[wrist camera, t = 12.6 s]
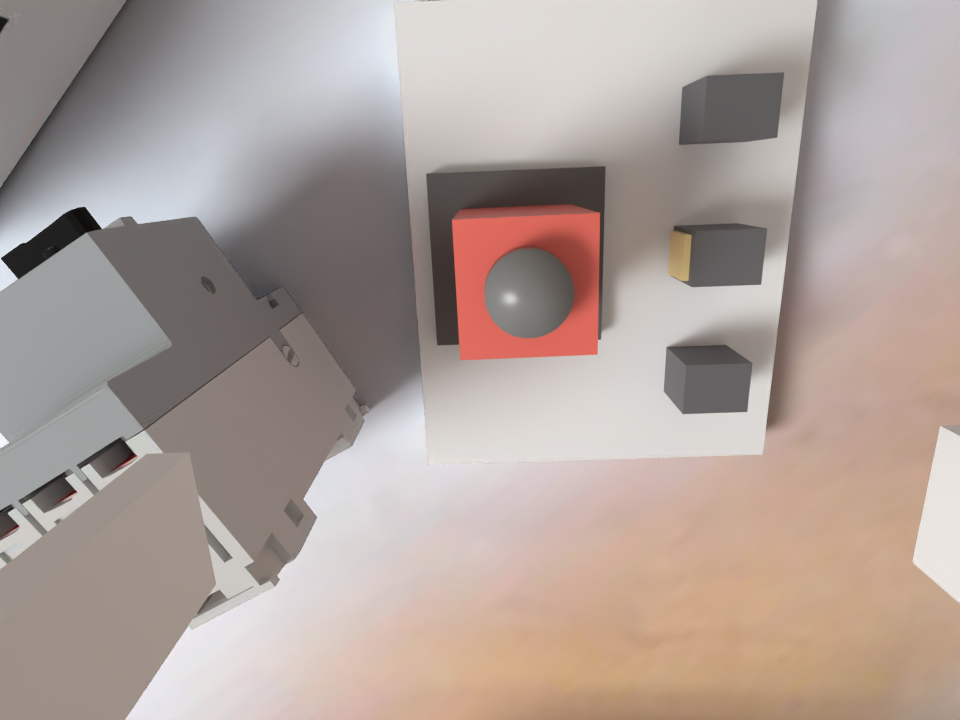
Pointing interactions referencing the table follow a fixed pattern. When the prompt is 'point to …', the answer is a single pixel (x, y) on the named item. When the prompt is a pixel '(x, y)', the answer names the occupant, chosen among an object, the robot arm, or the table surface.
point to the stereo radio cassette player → (42, 62)
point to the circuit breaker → (163, 390)
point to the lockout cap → (527, 281)
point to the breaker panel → (610, 212)
